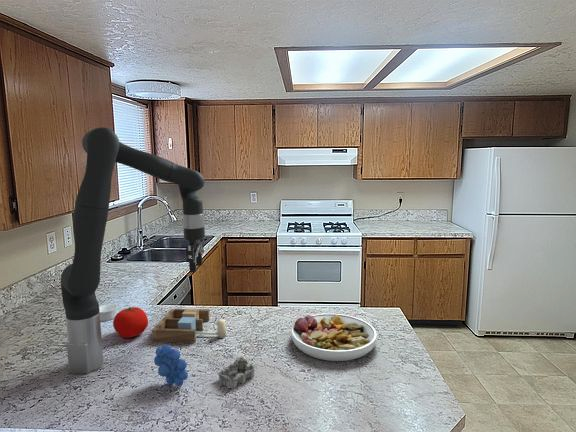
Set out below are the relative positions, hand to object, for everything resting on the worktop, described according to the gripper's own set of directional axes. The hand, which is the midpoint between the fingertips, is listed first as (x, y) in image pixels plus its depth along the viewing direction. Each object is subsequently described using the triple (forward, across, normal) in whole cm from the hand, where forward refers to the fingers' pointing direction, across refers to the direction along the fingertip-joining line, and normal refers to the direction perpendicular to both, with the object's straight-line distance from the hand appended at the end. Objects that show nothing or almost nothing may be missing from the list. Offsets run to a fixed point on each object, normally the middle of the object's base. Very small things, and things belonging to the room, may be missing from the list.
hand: (196, 268), depth 141 cm
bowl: (+26, -7, -50) cm, 57 cm away
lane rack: (+25, +1, +6) cm, 26 cm away
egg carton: (+25, -30, -20) cm, 44 cm away
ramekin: (+25, +12, +42) cm, 51 cm away
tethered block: (+25, -4, -2) cm, 25 cm away
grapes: (+25, -35, -1) cm, 43 cm away
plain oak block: (+25, +5, +5) cm, 26 cm away
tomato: (+25, -4, +25) cm, 35 cm away
